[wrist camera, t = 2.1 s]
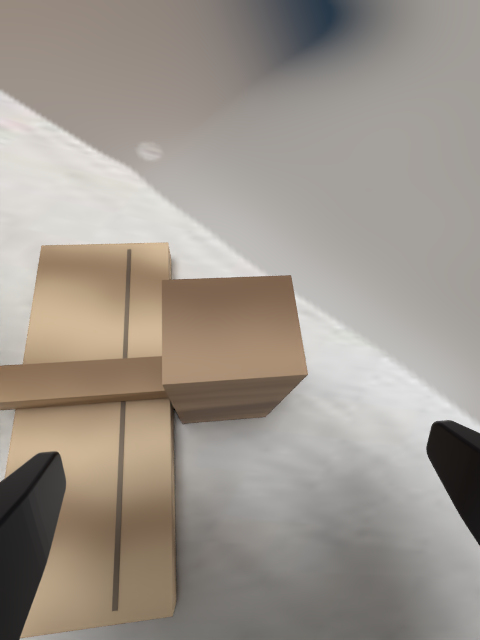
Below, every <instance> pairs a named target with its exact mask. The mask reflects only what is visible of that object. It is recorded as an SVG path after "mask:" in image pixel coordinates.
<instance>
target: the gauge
mask: <svg viewBox="0 0 480 640" xmlns="http://www.w3.org/2000/svg"><path fill="white" fill-rule="evenodd" d="M307 375H308V372H307V366H306V360H305V354H304V348H303V343H302V337H301V331H300V325H299V319H298V313H297V307H296V301H295V296H294V290H293V284H292V278H291V275H288V276H259V277H232V278H204V279H177V280H162V356H154V357H137V358H121V359H104V360H87V361H71V362H54V363H37V364H21V365H4V366H0V410H10V409H23V408H37V407H51V406H64V405H78V404H92V403H105V402H119V401H133V400H146V399H160V398H169V399H170V401H171V403H172V405H173V407H174V409H175V411H176V413H177V415H178V416H179V418H180V420H181V422H182V424H186V423H198V422H210V421H222V420H235V419H247V418H259V417H266V416H267V415H268V414H269V413H270V412H271V411H272V410H273V409H274V408H275V407H276V406H277V405H278V404H279V403H280V402H281V401H282V400H283V399H284V398H285V397H286V396H287V395H288V394H289V393H290V392H291V391H292V390H293V389H294V388H295V387H296V386H297V385H298V384H299V383H300V382H301V381H302V380H303V379H304V378H305V377H306V376H307Z"/></svg>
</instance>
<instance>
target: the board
mask: <svg viewBox="0 0 480 640" xmlns="http://www.w3.org/2000/svg"><path fill="white" fill-rule="evenodd" d="M162 280H171V256H170V250H169V244H168V243H128V244H87V245H45V246H41V252H40V258H39V264H38V271H37V277H36V283H35V290H34V296H33V302H32V309H31V315H30V321H29V328H28V334H27V340H26V347H25V353H24V359H23V364H37V363H54V362H71V361H87V360H104V359H121V358H137V357H154V356H162ZM51 451H57V452H59V454H60V456H61V459H62V464H63V468H64V472H65V477H66V490H65V494H64V498H63V502H62V506H61V510H60V514H59V518H58V522H57V526H56V530H55V534H54V538H53V542H52V546H51V550H50V553H49V557H48V560H47V564H46V567H45V570H44V573H43V576H42V578H41V581H40V584H39V587H38V589H37V592H36V595H35V598H34V600H33V603H32V606H31V609H30V611H29V614H28V617H27V620H26V622H25V625H24V628H23V631H22V634H21V636H20V638H25V637H32V636H39V635H46V634H53V633H60V632H67V631H74V630H81V629H88V628H95V627H102V626H109V625H116V624H123V623H130V622H137V621H144V620H151V619H158V618H166V617H173V613H174V609H175V605H176V545H175V480H174V416H173V405H172V403H171V401H170V399H169V398H160V399H146V400H133V401H119V402H105V403H92V404H78V405H64V406H51V407H37V408H23V409H16V410H15V416H14V423H13V429H12V435H11V441H10V448H9V454H8V460H7V467H6V473H5V478H6V477H8V476H9V475H10V474H11V473H13V472H14V471H15V470H17V469H18V468H19V467H20V466H22V465H23V464H24V463H26V462H27V461H28V460H29V459H31V458H32V457H33V456H35V455H36V454H38V453H41V452H51Z"/></svg>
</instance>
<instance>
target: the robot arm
mask: <svg viewBox="0 0 480 640" xmlns="http://www.w3.org/2000/svg"><path fill="white" fill-rule="evenodd" d="M426 450H427V455H428V457H429V459H430V461H431V463H432V465H433V467H434V469H435V471H436V472H437V474H438V476H439V478H440V480H441V482H442V484H443V485H444V487H445V489H446V491H447V493H448V495H449V497H450V498H451V500H452V502H453V504H454V506H455V507H456V509H457V511H458V513H459V514H460V516H461V518H462V519H463V521H464V523H465V524H466V526H467V527H468V529H469V530H470V532H471V533H472V535H473V536H474V538H475V539H476V541H477V542H478V544H479V545H480V433H478V432H476V431H474V430H471V429H469V428H467V427H465V426H463V425H460V424H458V423H456V422H454V421H450V420H445V421H436V422H434V423H433V424H432V427H431V430H430V434H429V438H428V443H427V447H426ZM65 490H66V477H65V472H64V468H63V464H62V459H61V456H60V454H59V452H57V451H51V452H41V453H38V454H36V455H35V456H33V457H32V458H31V459H29V460H28V461H27V462H26V463H24V464H23V465H22V466H20V467H19V468H18V469H17V470H15V471H14V472H13V473H11V474H10V475H9V476H8V477H6V478H5V479H4V480H2V481H1V482H0V640H19V639H20V636H21V634H22V631H23V628H24V625H25V622H26V620H27V617H28V614H29V611H30V609H31V606H32V603H33V600H34V598H35V595H36V592H37V589H38V587H39V584H40V581H41V578H42V576H43V573H44V570H45V567H46V564H47V560H48V557H49V553H50V550H51V546H52V542H53V538H54V534H55V530H56V526H57V522H58V518H59V514H60V510H61V506H62V502H63V498H64V494H65Z"/></svg>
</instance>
